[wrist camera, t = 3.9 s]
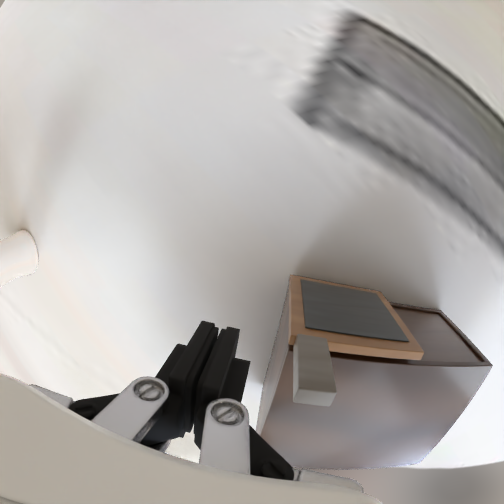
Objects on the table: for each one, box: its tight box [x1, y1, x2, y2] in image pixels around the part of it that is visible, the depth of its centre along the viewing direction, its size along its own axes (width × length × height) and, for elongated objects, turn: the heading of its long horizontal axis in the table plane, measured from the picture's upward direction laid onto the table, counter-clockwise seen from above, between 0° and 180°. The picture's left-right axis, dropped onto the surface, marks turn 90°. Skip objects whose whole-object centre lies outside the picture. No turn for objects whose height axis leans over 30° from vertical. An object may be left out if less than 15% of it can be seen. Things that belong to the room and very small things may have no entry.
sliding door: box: [288, 275, 424, 406], centre depth 16 cm, size 1×8×14 cm, turn 80°
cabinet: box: [256, 286, 493, 470], centre depth 19 cm, size 12×16×10 cm
